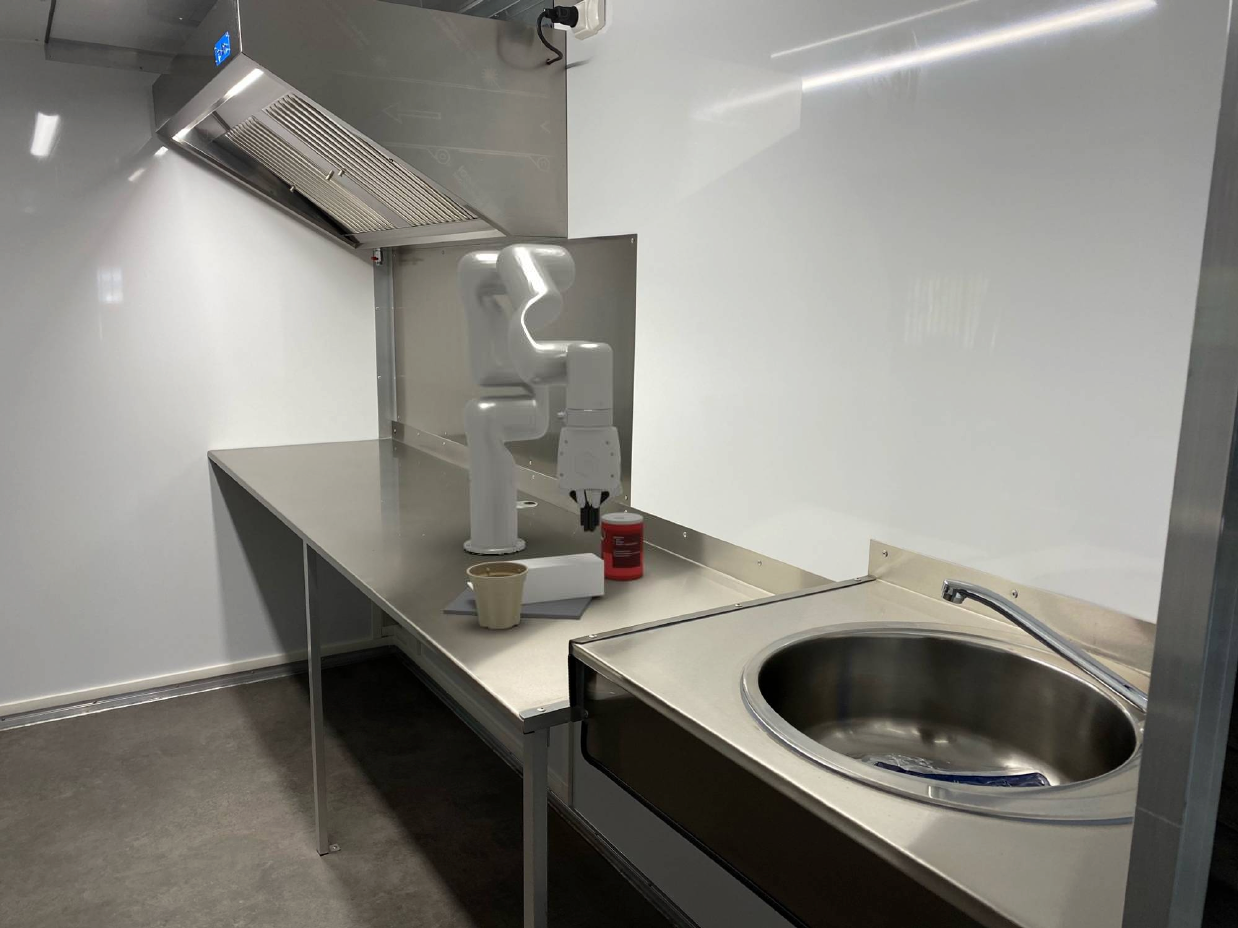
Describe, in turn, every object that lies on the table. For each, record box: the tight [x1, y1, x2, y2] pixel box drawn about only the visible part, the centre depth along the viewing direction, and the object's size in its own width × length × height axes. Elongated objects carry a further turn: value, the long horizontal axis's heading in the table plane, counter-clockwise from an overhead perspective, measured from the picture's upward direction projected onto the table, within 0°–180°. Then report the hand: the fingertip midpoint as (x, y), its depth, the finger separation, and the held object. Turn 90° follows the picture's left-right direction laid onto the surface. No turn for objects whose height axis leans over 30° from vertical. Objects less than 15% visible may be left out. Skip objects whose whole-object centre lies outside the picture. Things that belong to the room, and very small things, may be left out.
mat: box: [443, 585, 594, 620], centre depth 156 cm, size 20×22×1 cm
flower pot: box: [466, 561, 529, 630], centre depth 142 cm, size 9×9×9 cm
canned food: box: [600, 512, 644, 581], centre depth 170 cm, size 8×8×11 cm
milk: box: [466, 552, 605, 605], centre depth 154 cm, size 6×6×22 cm
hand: (590, 529), depth 152 cm, fingers closed
